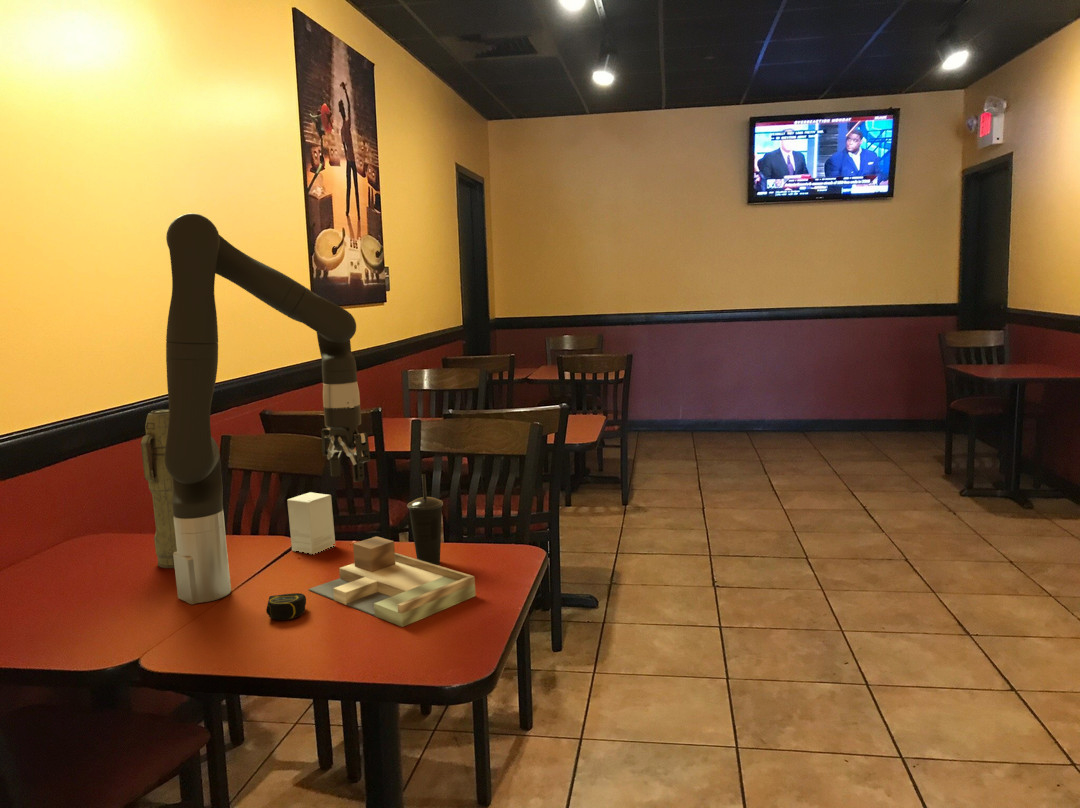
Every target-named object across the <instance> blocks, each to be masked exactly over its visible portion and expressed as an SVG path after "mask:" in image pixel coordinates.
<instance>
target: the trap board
mask: <svg viewBox="0 0 1080 808" xmlns="http://www.w3.org/2000/svg"><path fill="white" fill-rule="evenodd" d="M338 568H339V571H338V572H339V578H336V579H334V580H333V579H332V580H330V581H328V582H324V583H322V584H319V585H316V586H313V587H310V588H308V591H309V592H312V593H315V594H318V595H320V596H322V597H325V598H328V599H330V600H333V601H335V602H338V603H340V604H342V605H345V606H348V607H349V608H353V609H355V610H358V611H361V612H363V613H366V614H368V615H370V616H373V617H375V618H379V619H381V620H383V621H386V622H389V623H390V624H394V625H396V626H399V627H402V628H404V627H406V626H408V625H410V624H413V623H416V622H418V621H421V620H422V619H425V618H427V617H430V616H432V615H434V614H437V613H439V612H441V611H443V610H446V609H448V608H451V607H453V606H455V605H458V604H460V603H462V602H465V601H468V600H469V599H472V598H475V597H476V582H475V581H476V580H475V579H476V577H475V575H471V574H468V573H464V572H463V571H462V572H461V571H458V570H454V569H451V568H448V567H445V566H441V565H435V564H431V563H428V562H425V561H421V560H418V559H417V558H414V557H410V556H408V555H404V554H401V553H397V552H395V565H392V566H389V567H386V568H383V569H381V570H378V571H375V572H369V571H366V570H363V569H360V568H357V567H355V563H354V562H353V563H350V564H348V565H344V566H341V567H338Z"/></svg>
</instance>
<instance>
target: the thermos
mask: <svg viewBox="0 0 1080 808" xmlns="http://www.w3.org/2000/svg"><path fill="white" fill-rule="evenodd" d="M145 420H146V421H145V425H144V428H145V435H144V436H142V439H141V442H140V448H141V456H142V457H141V458H142V465H143V466H142V467H143V475H144V479H145V481H147V482H148V484H147V485H148V489H149V491H150V493H151V497H152V506H153V514H154V523H155V525H154V526H155V534H154V536H153V537H154V538H153V539H154V547H155V556H156V557H157V566H158V567H159V568H162V569H163V568H164V569H175V566H174V557H173V553H174V552H177V546H176V536H175V527H174V517H173V509H172V501H173V477H172V476H171V475H170V474H169V472H168V471H167V469H166V466H165V462H164V456H165V448H166V441H167V433H168V423H169V408H166V409H165V408H164V409H163V408H162V409H156V410H152V411H150V412H149V413H148V414H147V416H146V419H145Z"/></svg>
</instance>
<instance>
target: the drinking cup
mask: <svg viewBox="0 0 1080 808" xmlns="http://www.w3.org/2000/svg"><path fill="white" fill-rule="evenodd" d="M421 481H422V496H423V497H418V498H415V499H414V500H412V501H409V502H408V503H407V505H406V506H407V508H408V509H409V517H410V524H411V529H412V535H413V541H414V542H413V543H414V549H415V554H416V559H418V560H421V561H425V562H428V563H431V564H435V565H438V566H440V563H441V548H442V547H441V544H442V540H441V539H442V512H443V505H444V502H443V500H441V499H438V498H436V497H432V496H427V482H426V474H423V473H422V474H421Z"/></svg>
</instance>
